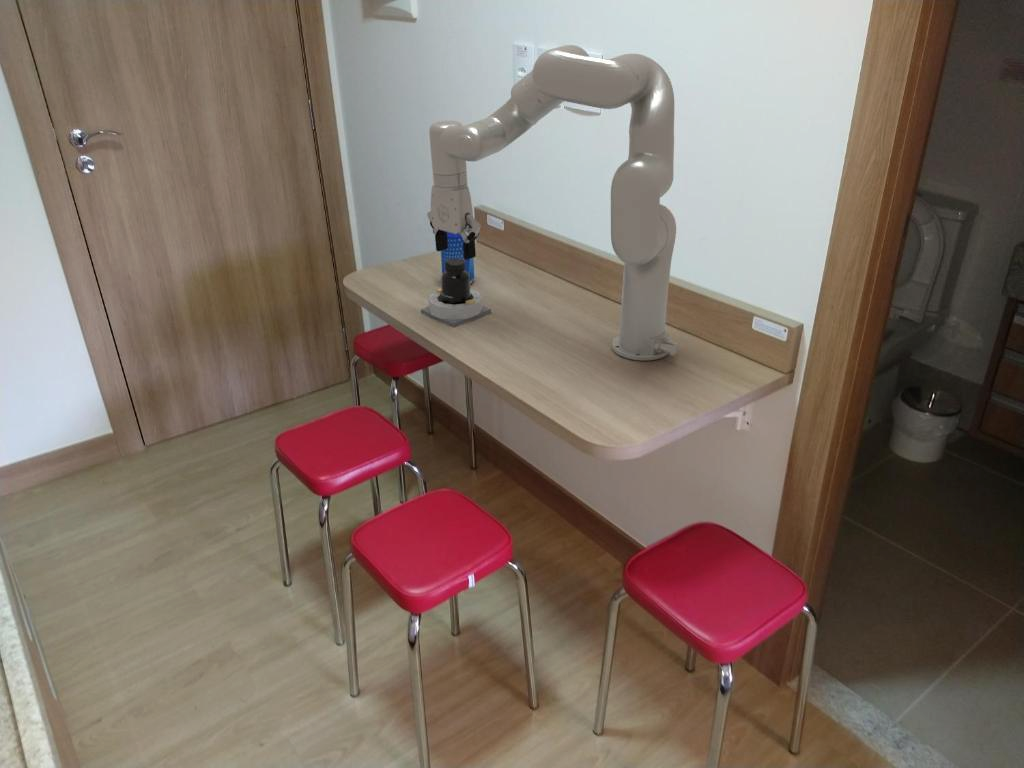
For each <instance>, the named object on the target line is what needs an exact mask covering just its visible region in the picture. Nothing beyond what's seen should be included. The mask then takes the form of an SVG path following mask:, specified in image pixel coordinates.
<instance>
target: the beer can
mask: <svg viewBox="0 0 1024 768" xmlns="http://www.w3.org/2000/svg"><path fill="white" fill-rule="evenodd" d="M444 232H445V231H444ZM466 234H467V236H468V235H469V233H468V232H466ZM447 240H448V248H447V249H445V250H442V251H440V256H441V257H440V259H441V260H440V261H441V275H442V274H443V273H444V272H445V262H446V261H447V260H450V259H461V260H464V261H465V267H466V270H465V271H466V272H467V273H468V274H469V275H470V285H471V284H472V283H473V281H474V280H475V263H474V260H475V257H474V258H471V259H468V260H465V259H464V256H463V243H464V242H465V241H464V240H463V238H462V236H461V234H453V233H449V232H447Z"/></svg>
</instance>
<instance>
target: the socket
mask: <svg viewBox="0 0 1024 768" xmlns="http://www.w3.org/2000/svg"><path fill="white" fill-rule="evenodd" d="M427 299H428V306H427V307H424V308H423V307H422V308H421V309H420V314H422V315H424V316H426V317H429V318H430V319H433V320H435V321H438V322H440V323H442V324H445V325H447V326H449V327H452V328H456V327H458V326H461V325H464V324H466V323H469V322H471V321H474V320H476V319H477V320H478V318H481V317H484V316H486V315H489V314H492V308H490V307H487V306H485V305H483V296H482V294H481V293H480V292H479V291H477V290H474V289H471V288H470V300H468V301H466V303H464V304H456V305H452V304H444V303H442V287H439V288H437V289H435V292H432V293H431V295H429V297H428V298H427Z"/></svg>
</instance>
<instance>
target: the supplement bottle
mask: <svg viewBox="0 0 1024 768" xmlns="http://www.w3.org/2000/svg"><path fill="white" fill-rule="evenodd" d="M465 270H466V267H465V261H464V260H461V259H450V260H447V261H446V262H445V272H444V273H443V274H442V273H441V277H440V280H441V281H440V283H441V287H440V288H442V303H444V304H452V305H456V304H464V303H466V301H468V300H470V289H471V284H470V275H469V274H468V273H467V272H466V271H465Z"/></svg>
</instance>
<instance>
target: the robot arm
mask: <svg viewBox="0 0 1024 768" xmlns="http://www.w3.org/2000/svg"><path fill="white" fill-rule="evenodd" d="M564 102H565V103H566V102H567V103H571V104H577V105H583V106H586V107H592V108H598V109H604V110H614V109H618V108H621V107H623V106H625V105H627V104H629V105H630V107H631V113H630V114H631V115H630V120H629V126H628V127H629V128H628V134H629V136H628V138H629V139H628V148H629V149H628V158H627V160H625V161H624V162H622V163H621V164H620V165H619V166H618V167H617V169H616V171H615V172H614V175H613V178H612V181H611V185H610V240H611V241H610V242H611V246H612V250H613V251H614V254H615V255H616V257H617V258H618V259H619V260H620V261H621V262H622V263H623V264H624V265H623V275H622V276H623V277H622V289H621V290H622V291H621V305H620V306H621V307H620V324H619V325H620V326H619V335H617V336H616V337H614V338H613V339H612V341H611V349H612V351H613V352H615V354H617V355H618V356H620V357H623V358H626V359H627V360H628V359H629V360H633V361H644V362H645V361H646V362H647V361H654V360H659V359H662V358H665V357H666V356H667V355H669V356H672V357H673V356H675V355H676V353H677V348H678V346H679V343H678V342H676V341H673V340H672V341H671V340H670V339H669V335H670V333H669V331H667V330H665V329H666V318H667V306H668V295H669V284H670V275H671V267H672V259H673V258H672V257H673V253H674V249H675V248H674V247H675V243H676V238H677V222H676V218H675V216H674V215H673V212H672V211H671V210H670V209H669V208H668V207H667V206H665V205H663V204H660V201H661V200H660V199H661V198H662V197H663V196H665V194H667V193H668V191H669V190H670V188H671V187H672V185H673V182H674V163H675V162H674V157H675V156H674V155H675V153H674V152H675V149H674V148H675V93H674V89H673V85H672V81H671V79H670V77H669V75H668V73H667V72H666V71H665V69H664V68H663V67H662V66H661V65H660V64H659V63H658V62H656V61H655V60H654V59H652V58H651V57H649V56H646V55H644V54H643V55H642V54H640V53H625V54H621V55H618V56H615V57H612V58H609V59H607V58H600V57H594V56H590V55H589V53H588V52H587V51H586V50H585V49H584V48H582V47H580V46H577V45H573V44H570V45H569V44H567V45H562V46H558V47H554V48H550V49H548V50H546V51H544V52H542V53H541V54H540V55H539V56H538V58H537V59H536V60H535V62H534V64H533V66H532V70H530V72H528V73H527V74H526V75H524V76H523V77H522V78H521V79H519V80H518V81H517V82H515V84H514V85H513V86H512V87H511V89H510V97H509V99H508V100H507V101H505V103H503V105H502V106H500V107H499V108H497V109H496V110H495V111H494V112H493V113H491V114H490V115H489V116H487V117H486V118H483V119H480V120H477V121H474V122H472V123H468V124H465V125H463V124H462V123H461V122H459V121H456V120H441V121H437V122H434V123H431V125H430V126H429V129H428V130H429V131H428V132H429V134H428V135H429V143H430V144H429V146H430V154H431V157H430V158H431V168H432V180H433V184H432V185H431V191H430V192H431V193H430V211H428V212H427V214H426V216H427V218H428V221H429V225H430V227H431V228H432V233H433V235H434V239H435V240H434V241H435V250H436V252H441V251H442V250H445V249H447V248H448V240H447V232H449V233H453V234H461V236H462V238H463V240H464V241H465V242H464V243H463V256H464V259H465V260H468V259H471V258H474V259H475V258H476V255H477V253H476V241H477V239H478V237H479V236H480V231H481V227H482V225H481V224H480V223H479V221H478V220H477V219H476V218H474V212H473V211H474V210H473V204H472V203H473V202H472V198H471V192H470V189H469V186H468V175H467V174H468V173H467V162H478V161H481V160H483V159H486V158H488V157H489V156H492V155H495V154H496V153H499V152H500V151H502V150H504V149H505V148H506V147H508V146H509V145H511V144H512V143H513V142H514V141H516V140H517V139H518V138H520V137H521V136H522V135H524V134H525V133H526V132H528V131H529V130H530V129H531V128H532V127H533V126H534V125H536V124H537V123H538V122H539V121H540V120H541V119H542V118H544V117H546V116H547V115H548V114H550V113H551V112H552V111H554V109H556V108H557V107H559V106H560V105H561V104H563V103H564ZM444 231H445V232H444ZM466 232H468V233H469V235H468V236H467V234H466Z"/></svg>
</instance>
